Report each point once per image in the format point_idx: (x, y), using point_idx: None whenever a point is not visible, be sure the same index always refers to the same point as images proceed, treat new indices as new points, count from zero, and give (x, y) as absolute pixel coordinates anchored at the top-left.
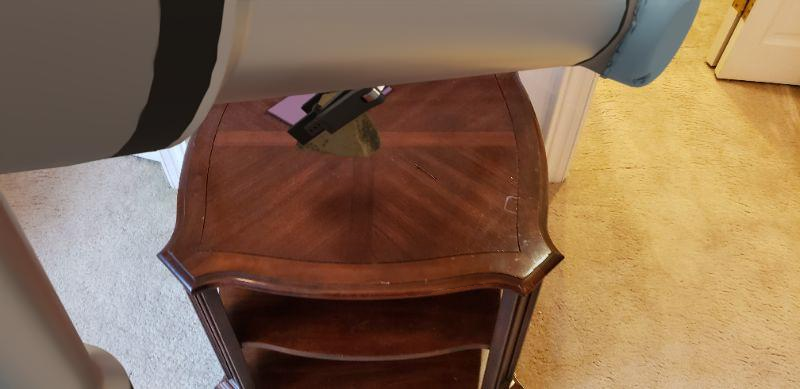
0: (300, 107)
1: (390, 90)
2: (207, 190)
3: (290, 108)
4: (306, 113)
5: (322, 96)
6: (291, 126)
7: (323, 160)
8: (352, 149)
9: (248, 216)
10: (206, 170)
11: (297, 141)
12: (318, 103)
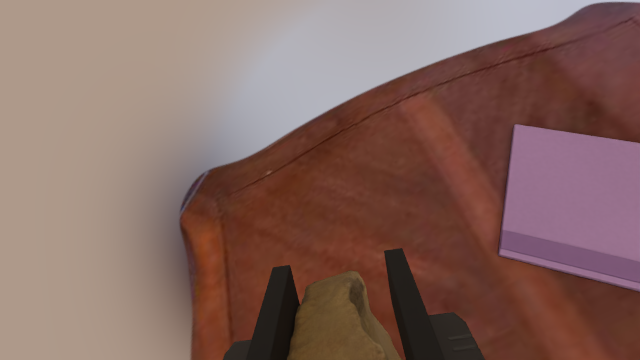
0: (560, 168)
1: None
2: (315, 147)
3: (545, 154)
4: (387, 271)
5: (379, 351)
6: (288, 272)
7: (457, 279)
8: None
9: (289, 227)
10: (348, 124)
11: (305, 289)
12: (358, 339)
